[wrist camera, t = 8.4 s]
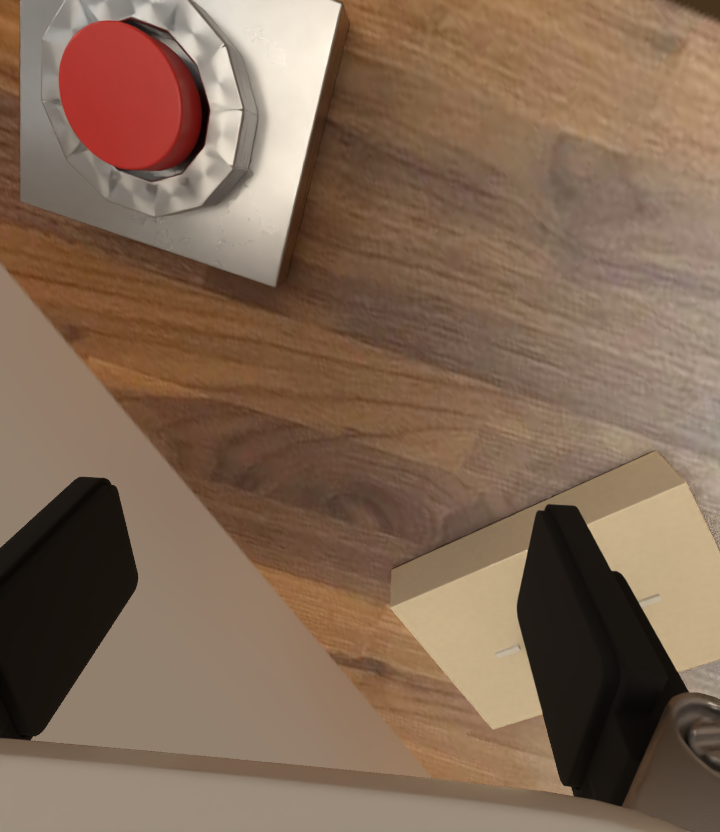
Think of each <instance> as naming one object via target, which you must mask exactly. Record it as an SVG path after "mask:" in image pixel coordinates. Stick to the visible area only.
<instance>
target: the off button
mask: <svg viewBox="0 0 720 832" xmlns="http://www.w3.org/2000/svg"><path fill="white" fill-rule="evenodd" d="M59 92H60V98H61V102H62V106H63V109H64V112H65V115H66V117H67V120H68V122H69V124H70V126H71V127H72V129H73V131H74V133H75V134H76V135H77V137H78V138H79V140H80V141H81V142H82V143H83V144H84V145H85V146H86V148H87V149H88V150H90V151H91V152H92V153H93V154H94V155H95V156H97V157H98V158H99V159H101V160H102V161H104V162H106V163H108V164H110V165H112V166H115V167H117V168H121V169H126V170H140V171H162V170H167V169H170V168H173V167H175V166H177V165H179V164H180V163H181V162H183V161H184V160H185V159H186V158H187V157H188V156H189V155H190V153H191V152H192V150H193V149H194V147H195V145H196V143H197V141H198V138H199V135H200V130H201V124H202V106H201V99H200V95H199V91H198V88H197V85H196V83H195V80H194V78H193V76H192V74H191V72H190V71H189V69H188V67H187V66H186V64H185V63H184V62H183V60H182V59H181V58H180V57H179V56H178V55H177V54H176V53H175V52H174V51H173V50H172V49H171V48H169V47H168V46H167V45H165V44H164V43H162V42H161V41H159V40H157V39H155V38H154V37H152V36H150V35H148V34H147V33H145V32H143V31H141V30H140V29H138V28H136V27H134V26H132V25H129V24H127V23H123V22H120V21H113V20H104V21H98V22H94V23H91V24H89V25H87V26H85V27H84V28H82V29H81V30H79V31H78V32H77V33H76V34H75V35H74V36H73V37H72V38H71V40H70V41H69V42H68V44H67V46H66V48H65V50H64V52H63V55H62V58H61V62H60V67H59Z"/></svg>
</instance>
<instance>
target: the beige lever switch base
mask: <svg viewBox="0 0 720 832" xmlns="http://www.w3.org/2000/svg"><path fill="white" fill-rule="evenodd" d="M548 504H557V505H574V506H576V507H577V508H578V509H579V511H580V513H581V515H582V517H583V518H584V520H585V522H586V524H587V526H588V528H589V530H590V531H591V533H592V535H593V537H594V539H595V541H596V543H597V545H598V546H599V548H600V550H601V552H602V554H603V556H604V558H605V559H606V561H607V563H608V565H609V567H610V569H611V571H618V572H619V573H621V574H622V575H623V577H624V578H625V579H626V581H627V583H628V584H629V586H630V588H631V590H632V591H633V593H634V595H635V597H636V599H637V600H638V602H639V604H640V606H641V608H642V609H643V611H644V613H645V615H646V616H647V618H648V620H649V622H650V624H651V625H652V627H653V629H654V631H655V633H656V634H657V636H658V638H659V640H660V641H661V643H662V645H663V647H664V649H665V650H666V652H667V654H668V656H669V658H670V659H671V661H672V663H673V665H674V666H675V668H676V670H677V672H681V671H684V670H688V669H691V668H694V667H697V666H701V665H704V664H707V663H710V662H714V661H717V660H720V550H719V548H718V546H717V544H716V542H715V540H714V538H713V536H712V534H711V532H710V530H709V528H708V526H707V524H706V521H705V519H704V517H703V515H702V513H701V511H700V509H699V507H698V505H697V503H696V501H695V499H694V497H693V495H692V493H691V490H690V488H689V486H688V484H687V482H686V481H685V480H684V479H683V478H682V477H681V476H680V475H679V474H678V473H677V472H676V471H675V470H674V468H673V467H672V466H671V465H670V464H669V463H668V462H667V461H666V460H665V459H664V458H663V457H662V456H661V454H660V453H659V452H658V451H654V452H651V453H649V454H647V455H645V456H643V457H640V458H638V459H636V460H634V461H631V462H629V463H627V464H625V465H623V466H620V467H618V468H616V469H614V470H612V471H609V472H607V473H605V474H603V475H600V476H598V477H596V478H594V479H592V480H589V481H587V482H585V483H583V484H580V485H578V486H576V487H574V488H572V489H569V490H567V491H565V492H563V493H560V494H558V495H556V496H554V497H552V498H549V499H547V500H545V501H543V502H541V503H538V504H536V505H534V506H532V507H529V508H527V509H525V510H523V511H521V512H518V513H516V514H514V515H512V516H509V517H507V518H505V519H503V520H501V521H498V522H496V523H494V524H492V525H490V526H487V527H485V528H483V529H481V530H478V531H476V532H474V533H472V534H470V535H467V536H465V537H463V538H461V539H458V540H456V541H454V542H452V543H450V544H447V545H445V546H443V547H441V548H439V549H436V550H434V551H432V552H430V553H427V554H425V555H423V556H421V557H419V558H416V559H414V560H412V561H410V562H407V563H405V564H403V565H401V566H399V567H396V568H394V569H392V570H391V592H390V609H391V610H392V611H393V612H394V613H395V615H396V616H397V617H398V618H399V619H400V621H401V622H402V623H403V624H404V625H405V627H406V628H407V629H408V630H409V631H410V632H411V634H412V635H413V636H414V637H415V638H416V640H417V641H418V642H419V643H420V644H421V646H422V647H423V648H424V649H425V650H426V651H427V653H428V654H429V655H430V656H431V657H432V659H433V660H434V661H435V662H436V663H437V664H438V666H439V667H440V668H441V669H442V670H443V672H444V673H445V674H446V675H447V676H448V678H449V679H450V680H451V681H452V682H453V683H454V685H455V686H456V687H457V688H458V689H459V691H460V692H461V693H462V694H463V695H464V696H465V698H466V699H467V700H468V701H469V702H470V704H471V705H472V706H473V707H474V708H475V710H476V711H477V712H478V713H479V714H480V715H481V717H482V718H483V719H484V720H485V721H486V723H487V724H488V725H489V726H490V727H491V729H497V728H500V727H503V726H506V725H509V724H513V723H516V722H519V721H522V720H526V719H529V718H532V717H535V716H539V715H542V714H543V713H542V709H541V706H540V702H539V698H538V694H537V690H536V687H535V683H534V679H533V675H532V671H531V668H530V664H529V660H528V656H527V652H526V649H525V645H524V641H523V637H522V633H521V630H520V626H519V622H518V618H517V600H518V595H519V590H520V585H521V581H522V576H523V571H524V567H525V562H526V557H527V552H528V548H529V543H530V538H531V534H532V529H533V524H534V519H535V515H536V512H537V511H538V510H543V511H544V510H545V507H546V505H548Z"/></svg>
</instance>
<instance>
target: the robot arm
mask: <svg viewBox="0 0 720 832" xmlns="http://www.w3.org/2000/svg"><path fill="white" fill-rule="evenodd" d="M137 583H138V572H137V568H136V565H135V560H134V556H133V552H132V548H131V543H130V539H129V535H128V531H127V527H126V522H125V518H124V514H123V510H122V506H121V502H120V498H119V493H118V490H117V488H116V486H114V485H111V483H110V481H109V480H108V479H105V478H93V477H79V478H77V479H75V480H74V481H73V482H72V483H71V484H70V485H69V486H68V487H66V488H65V489H64V490H63V491H62V492H61V493H60V494H59V495H58V496H57V497H55V499H53V500H52V501H51V502H50V503H49V504H48V505H47V506H46V507H45V508H43V509H42V510H41V511H40V512H39V513H38V514H37V515H36V516H35V517H34V518H33V519H32V520H30V521H29V522H28V523H27V524H26V525H25V526H24V527H23V528H22V529H21V530H19V531H18V532H17V533H16V534H15V535H14V536H13V537H12V538H11V539H10V540H8V541H7V542H6V543H5V544H4V545H3V546H2V547H1V548H0V832H720V699H718V698H716V697H713V696H709V695H705V694H701V693H689V691H688V690H687V688H686V686H685V684H684V683H683V681H682V679H681V677H680V675H679V674H678V672H677V670H676V668H675V666H674V665H673V663H672V661H671V659H670V658H669V656H668V654H667V652H666V650H665V649H664V647H663V645H662V643H661V641H660V640H659V638H658V636H657V634H656V633H655V631H654V629H653V627H652V625H651V624H650V622H649V620H648V618H647V616H646V615H645V613H644V611H643V609H642V608H641V606H640V604H639V602H638V600H637V599H636V597H635V595H634V593H633V591H632V590H631V588H630V586H629V584H628V583H627V581H626V579H625V578H624V577H623V575H622V574H621V573H619V572H618V571H611V569H610V567H609V565H608V563H607V561H606V559H605V558H604V556H603V554H602V552H601V550H600V548H599V546H598V545H597V543H596V541H595V539H594V537H593V535H592V533H591V531H590V530H589V528H588V526H587V524H586V522H585V520H584V518H583V517H582V515H581V513H580V511H579V509H578V508H577V507H576V506H574V505H557V504H548V505H546V507H545V510H544V511H543V510H538V511H537V512H536V515H535V519H534V524H533V529H532V534H531V538H530V543H529V548H528V552H527V557H526V562H525V567H524V571H523V576H522V581H521V585H520V590H519V595H518V600H517V618H518V622H519V626H520V630H521V633H522V637H523V641H524V645H525V649H526V652H527V656H528V660H529V664H530V668H531V671H532V675H533V679H534V683H535V687H536V690H537V694H538V698H539V702H540V706H541V709H542V713H543V717H544V721H545V725H546V728H547V732H548V736H549V740H550V744H551V748H552V751H553V755H554V759H555V763H556V767H557V770H558V774H559V777H560V780H561V782H562V784H563V785H564V786H570V787H572V791H573V795H574V796H568V795H563V794H557V793H551V792H544V791H536V790H528V789H519V788H511V787H502V786H494V785H486V784H477V783H469V782H460V781H452V780H442V779H432V778H422V777H412V776H402V775H392V774H382V773H372V772H362V771H352V770H342V769H332V768H322V767H312V766H302V765H291V764H281V763H270V762H260V761H249V760H239V759H229V758H218V757H206V756H197V755H186V754H175V753H164V752H154V751H143V750H131V749H120V748H109V747H98V746H86V745H74V744H64V743H52V742H42V741H41V742H40V741H30V740H31V739H32V737H33V736H37V735H39V734H40V733H41V732H42V731H43V730H44V729H45V727H46V726H47V725H48V723H49V722H50V720H51V718H52V717H53V715H54V714H55V712H56V711H57V709H58V707H59V706H60V705H61V703H62V702H63V700H64V698H65V697H66V695H67V694H68V692H69V691H70V689H71V688H72V686H73V685H74V683H75V682H76V680H77V679H78V677H79V675H80V674H81V672H82V671H83V669H84V668H85V666H86V665H87V663H88V662H89V660H90V659H91V657H92V656H93V654H94V653H95V651H96V649H97V648H98V646H99V645H100V643H101V642H102V640H103V639H104V637H105V636H106V634H107V633H108V631H109V630H110V628H111V626H112V625H113V623H114V622H115V620H116V619H117V617H118V616H119V614H120V613H121V611H122V609H123V608H124V607H125V605H126V604H127V602H128V600H129V599H130V597H131V596H132V594H133V593H134V591H135V589H136V586H137Z"/></svg>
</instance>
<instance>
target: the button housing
mask: <svg viewBox="0 0 720 832" xmlns="http://www.w3.org/2000/svg"><path fill="white" fill-rule="evenodd" d="M104 20H113V21H120V22H123V23H127V24H129V25H132V26H134V27H136V28H138V29H140V30H141V31H143V32H145V33H147V34H148V35H150V36H152V37H154V38H155V39H157V40H159V41H161V42H162V43H164V44H165V45H167V46H168V47H169V48H171V49H172V50H173V51H174V52H175V53H176V54H177V55H178V56H179V57H180V58H181V59H182V60H183V62H184V63H185V64H186V66H187V67H188V69H189V71H190V72H191V74H192V76H193V78H194V80H195V83H196V85H197V88H198V91H199V95H200V99H201V106H202V124H201V130H200V135H199V138H198V141H197V143H196V145H195V147H194V149H193V150H192V152H191V153H190V155H189V156H188V157H187V158H186V159H185V160H184V161H183V162H181V163H180V164H179V165H177V166H175V167H173V168H170V169H167V170H162V171H140V170H126V169H121V168H117V167H115V166H112V165H110V164H108V163H106V162H104V161H102V160H101V159H99V158H98V157H97V156H95V155H94V154H93V153H92V152H91V151H90V150H88V149H87V148H86V146H85V145H84V144H83V143H82V142H81V141H80V140H79V138H78V137H77V135H76V134H75V133H74V131H73V129H72V127H71V126H70V124H69V122H68V120H67V117H66V115H65V112H64V109H63V106H62V102H61V98H60V92H59V67H60V62H61V58H62V55H63V52H64V50H65V48H66V46H67V44H68V42H69V41H70V40H71V38H72V37H73V36H74V35H75V34H76V33H77V32H78V31H79V30H81V29H82V28H84V27H85V26H87V25H89V24H91V23H94V22H98V21H104ZM348 28H349V19H348V16H347V13H346V10H345V7H344V5H343V3H342V2H341V1H338V0H20V201H21V202H23V203H26V204H29V205H32V206H35V207H38V208H41V209H44V210H47V211H50V212H53V213H56V214H59V215H61V216H64V217H67V218H70V219H73V220H76V221H79V222H82V223H85V224H88V225H91V226H94V227H97V228H100V229H103V230H106V231H109V232H112V233H115V234H117V235H120V236H123V237H126V238H129V239H132V240H135V241H138V242H141V243H144V244H147V245H150V246H153V247H156V248H159V249H162V250H165V251H168V252H171V253H173V254H176V255H179V256H182V257H185V258H188V259H191V260H194V261H197V262H200V263H203V264H206V265H209V266H212V267H215V268H218V269H221V270H224V271H227V272H229V273H232V274H235V275H238V276H241V277H244V278H247V279H250V280H253V281H256V282H259V283H262V284H265V285H268V286H271V287H274V288H275V287H277V286H278V285H279V284H280V283H282V282H283V281H284V280H285V279H286V278H287V275H288V271H289V267H290V263H291V259H292V255H293V251H294V247H295V243H296V239H297V235H298V231H299V227H300V223H301V219H302V214H303V210H304V206H305V202H306V198H307V194H308V190H309V186H310V182H311V178H312V174H313V170H314V166H315V162H316V158H317V154H318V149H319V145H320V141H321V137H322V133H323V129H324V125H325V121H326V117H327V113H328V109H329V105H330V101H331V97H332V93H333V88H334V84H335V80H336V76H337V72H338V68H339V64H340V60H341V56H342V52H343V48H344V44H345V40H346V36H347V32H348Z"/></svg>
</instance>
